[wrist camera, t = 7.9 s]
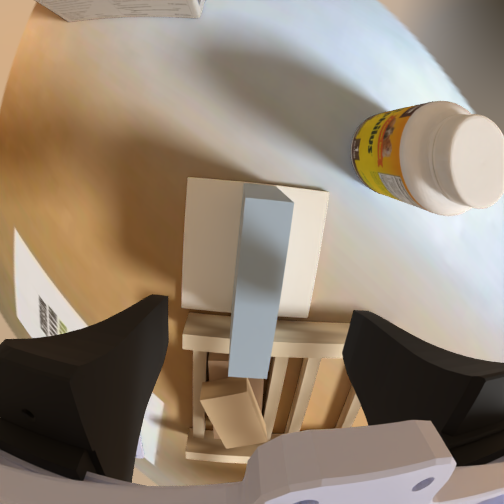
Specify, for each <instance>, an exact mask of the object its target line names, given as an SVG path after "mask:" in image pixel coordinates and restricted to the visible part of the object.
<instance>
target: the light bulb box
mask: <svg viewBox="0 0 504 504" xmlns="http://www.w3.org/2000/svg"><path fill="white" fill-rule="evenodd" d="M35 1H36V2H38V3H40V4H41V5H43V6H45V7H46V8H48V9H49V10H51V11H52V12H54V13H55V14H57V15H58V16H60V17H61V18H63V19H64V20H66V21H67V22H73V21H81V20H90V19H101V18H115V17H184V18H199V17H200V16H201V13H202V9H203V6H204V3H205V0H35Z"/></svg>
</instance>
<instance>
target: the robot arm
mask: <svg viewBox="0 0 504 504" xmlns="http://www.w3.org/2000/svg"><path fill="white" fill-rule="evenodd" d="M168 342H169V338H168V296H162V295H153V294H152V295H150V296H148V297H146V298H144V299H143V300H141V301H139V302H138V303H136V304H134V305H132V306H131V307H129V308H127V309H125V310H124V311H122V312H120V313H118V314H116V315H114V316H112V317H110V318H108V319H106V320H104V321H102V322H99V323H97V324H94V325H91V326H89V327H86V328H83V329H80V330H76V331H72V332H68V333H64V334H60V335H55V336H49V337H41V338H31V339H5V340H4V341H3V342H2V343H1V344H0V504H504V363H499V362H490V361H485V360H479V359H474V358H470V357H466V356H463V355H459V354H456V353H453V352H450V351H447V350H444V349H442V348H439V347H437V346H434V345H432V344H430V343H427V342H425V341H423V340H421V339H419V338H417V337H415V336H413V335H412V334H410V333H408V332H406V331H404V330H403V329H401V328H399V327H397V326H396V325H394V324H392V323H390V322H389V321H387V320H385V319H383V318H382V317H380V316H378V315H376V314H374V313H372V312H369V311H358V310H354V311H353V314H352V318H351V322H350V326H349V330H348V333H347V337H346V340H345V344H344V347H343V351H342V355H343V360H344V364H345V367H346V371H347V374H348V376H349V379H350V381H351V383H352V386H353V388H354V390H355V393H356V395H357V397H358V400H359V402H360V404H361V406H362V409H363V411H364V414H365V416H366V419H367V422H368V426H361V427H350V428H336V429H316V430H304V431H299V432H293V433H287V434H282V435H280V436H278V437H276V438H274V439H272V440H270V441H268V442H266V443H264V444H262V445H260V446H258V447H257V449H256V450H255V451H254V453H253V454H252V456H251V457H250V458H249V460H248V461H247V467H246V472H245V476H244V478H243V480H242V481H240V482H231V483H221V484H209V485H192V486H145V485H140V484H135V483H132V476H133V469H134V463H135V458H144V452H143V447H142V442H141V437H140V431H141V427H142V423H143V418H144V414H145V411H146V407H147V404H148V402H149V399H150V396H151V394H152V391H153V389H154V386H155V384H156V381H157V379H158V376H159V373H160V371H161V368H162V366H163V363H164V359H165V355H166V351H167V347H168Z"/></svg>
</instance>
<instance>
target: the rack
mask: <svg viewBox="0 0 504 504" xmlns="http://www.w3.org/2000/svg"><path fill="white" fill-rule="evenodd" d="M230 324H231V316H222V315H211V314H201V313H192V312H189V314H188V317H187V321H186V324H185V327H184V331H183V340H182V348H183V349H186V350H193V428H189V432H188V439H187V446H186V459H193V460H202V461H213V462H227V463H246V464H247V461H248V460H249V458H250V457H251V456H252V454H253V453H254V451H255V450H256V449H257V447H258V446H260V445H262V444H264V443H266V442H264V443H259V444H253V445H248V446H242V447H235V448H228V449H226V447H225V446H224V444H223V442H222V440H221V439H214V433H213V431H212V430H205V409H204V408H203V406H202V404H201V402H200V395H201V388H202V383H203V382H206V380H207V356H208V352H215V353H226V354H229V345H230ZM349 326H350V323H330V322H308V321H289V320H277V323H276V329H275V335H274V341H273V347H272V352H271V357H272V362H271V368H270V373H269V379H268V384H267V390H266V395H265V400H264V405H263V411H262V416H263V419H264V421H265V424H266V431H267V442H268V441H270V440H272V439H274V438H276V437H278V436H280V435H282V434H272V430H273V426H274V422H275V418H276V414H277V409H278V405H279V401H280V396H281V392H282V387H283V383H284V378H285V374H286V369H287V364H288V359H289V357H294V358H304V359H303V363H302V367H301V371H300V375H299V379H298V383H297V387H296V391H295V395H294V399H293V403H292V407H291V410H290V414H289V418H288V421H287V425H286V429H285V432H284V434H287V433H293V432H299V431H300V429H301V425H302V422H303V419H304V416H305V413H306V410H307V406H308V403H309V400H310V396H311V393H312V390H313V386H314V383H315V379H316V376H317V372H318V368H319V365H320V361H321V358H343V355H342V351H343V347H344V344H345V340H346V337H347V333H348V330H349ZM360 406H361V404H360V402H359V400H358V397H357V395H356V393H355V390H354V388H353V386H351V389H350V391H349V394H348V397H347V399H346V402H345V404H344V407H343V410H342V412H341V415H340V417H339V420H338V422H337V424H336V427H335V429H336V428H350V427H352V425H353V422H354V420H355V418H356V416H357V413H358V411H359V409H360Z"/></svg>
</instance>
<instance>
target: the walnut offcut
mask: <svg viewBox="0 0 504 504" xmlns="http://www.w3.org/2000/svg"><path fill="white" fill-rule="evenodd" d="M228 367H229V354H226V353H215V352H209V358H208V368H209V381H214V380H220V379H225V378H230V377H228ZM248 380H249V382H250V385H251V388H252V390H253V393H254V395H255V398H256V401H257V403H258V406H259V408H260V411H261V414H262V399H263V383H264V379H258V378H248ZM213 433H214V439H220V437H219V435H218V433H217V432H216V430H215V428H214V426H213Z"/></svg>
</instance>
